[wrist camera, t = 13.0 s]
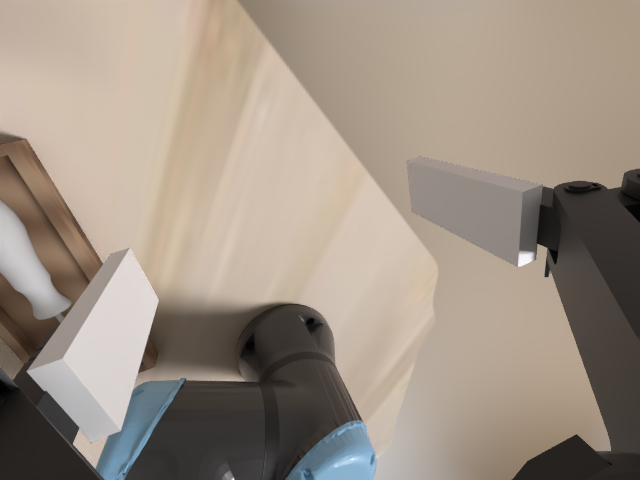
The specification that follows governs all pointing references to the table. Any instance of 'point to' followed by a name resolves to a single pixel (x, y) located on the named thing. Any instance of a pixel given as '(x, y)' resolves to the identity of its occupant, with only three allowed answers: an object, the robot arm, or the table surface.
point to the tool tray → (44, 250)
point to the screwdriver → (27, 268)
